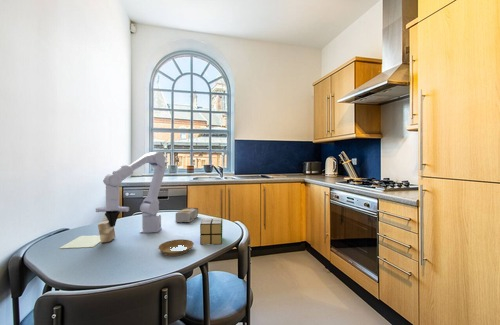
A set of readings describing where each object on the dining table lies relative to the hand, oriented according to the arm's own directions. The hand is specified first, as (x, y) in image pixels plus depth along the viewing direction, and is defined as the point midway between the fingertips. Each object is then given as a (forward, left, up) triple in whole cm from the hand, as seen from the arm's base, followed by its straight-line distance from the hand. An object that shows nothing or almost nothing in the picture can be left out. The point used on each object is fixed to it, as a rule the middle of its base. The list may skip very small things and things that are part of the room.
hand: (112, 226), depth 113 cm
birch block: (+2, 0, -7) cm, 7 cm away
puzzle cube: (-48, +6, -7) cm, 49 cm away
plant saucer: (-33, +16, -8) cm, 38 cm away
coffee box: (-29, -27, -4) cm, 40 cm away
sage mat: (+12, 0, -7) cm, 14 cm away
